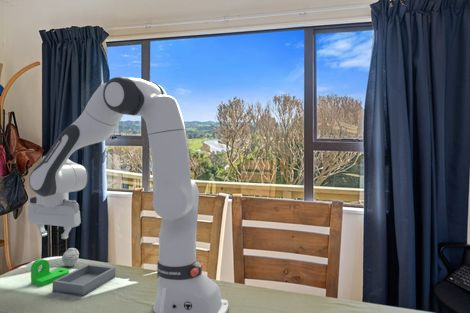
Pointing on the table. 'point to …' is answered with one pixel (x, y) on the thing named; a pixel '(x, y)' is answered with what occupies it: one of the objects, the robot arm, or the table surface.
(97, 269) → the tray
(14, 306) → the table surface
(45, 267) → the mechanical part
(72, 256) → the white sculpted head
